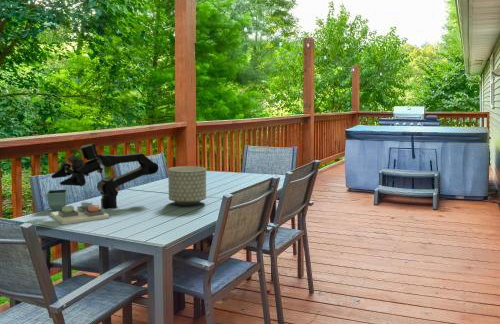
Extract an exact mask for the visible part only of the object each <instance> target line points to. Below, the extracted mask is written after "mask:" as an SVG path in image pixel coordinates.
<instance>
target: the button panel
mask: <svg viewBox="0 0 500 324" xmlns="http://www.w3.org/2000/svg"><path fill="white" fill-rule="evenodd" d="M50 216H51V217H52V218H54V219H55V220H57V221H58V222H59V223H61V224H62V225H70V224H76V223H82V222H83V221H84V222H89V221H98V220H105V219H109V218H110V216H109V214H108V213H106V212H105V211H104V210H102V209H100V208H99V212H93V213H89V212H88V208H86V209H82V208H81V205H80V206H77V207H76V209H74V212H73V213H66V214H64V213H62V210H57V211H52V212H50ZM84 222H83V223H84Z"/></svg>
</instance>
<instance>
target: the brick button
mask: <svg viewBox="0 0 500 324" xmlns="http://www.w3.org/2000/svg"><path fill="white" fill-rule="evenodd" d="M99 209H100V205H98V204H92V205H91V206H88V212H89V213H93V212H99Z"/></svg>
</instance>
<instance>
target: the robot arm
mask: <svg viewBox="0 0 500 324" xmlns="http://www.w3.org/2000/svg"><path fill="white" fill-rule="evenodd" d="M79 149H80V151H81V155H82V157H83V159H84V160H86V161H85V162H84V160H83V159H82V158H81V157H80V158H79V157H77V156H76V155H75V154H71V155H70V156H68V157H67V160H68V161H69V162H70V163H71V164H70V163H69V162H67V161H62V162H60V168H59V169H58V170H57V171H56V172H54V173H53V174H52V175H51V179H57V178H66V177H67V178H66V179H63V180H62V181H60V182H59V185H60V186H75V187H76V186H77V187H84V186H85V185H86V184H87V181H86V177H88V176H89V174H92V173H94V172H97V173H98V174H103V170H104V168H102V167H106V168H109V167H114V166H116V165H117V164H125V163H134V162H138V164H139V166H138V168H135V169H133V170H131V171H128V172H125V173H123V174H121V175H119V176H117V177H111V176H106V177H104V178H101V179H100V181H98V182H97V183H96V189H97V191H98V192H100V195H101V198H100V208H103V209H104V210H110V209H117V208H119V206H118V205H117V204H118V203H117V201H118V200H117V196H118V194H119V191H118V190H117V189H118V187H119V186H121V185H125V184H126V183H129V182H131V181H133V180H135V179H138V178H140V177H144V176H149V175H155V174H156V173H158V171H159V165H158V163H156V162H155V161H152V160H151V159H150V158H149V157H148V156H146V155H145V154H144V153H142V152H141V153H140V152H137V153H128V154H119V155H118V154H117V155H114V154H107V153H106V154H100V153H98V152H97V149H96V144H95V143H94V142H93V143H88V144H83V145H81V146H80V147H79ZM68 176H69V177H68Z"/></svg>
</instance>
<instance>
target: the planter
mask: <svg viewBox="0 0 500 324" xmlns="http://www.w3.org/2000/svg"><path fill="white" fill-rule="evenodd" d="M167 172H168V175H167V177H168V180H167V181H168V200H170V201H172V202H174V203H175V204H176V205H177V204H178V205H180V206H194V205H196V204H199V203H200V202H201V201H203V200H206V199H207V168H205V167H203V166H196V165H195V166H193V165H191V166H190V165H185V166H183V165H182V166H173V167H169V168H168V171H167Z"/></svg>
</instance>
